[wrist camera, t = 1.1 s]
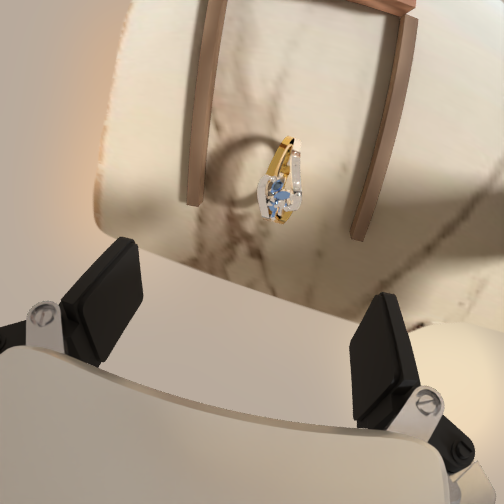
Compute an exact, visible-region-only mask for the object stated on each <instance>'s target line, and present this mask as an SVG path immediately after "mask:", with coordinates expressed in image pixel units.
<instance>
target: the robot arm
mask: <svg viewBox="0 0 504 504" xmlns="http://www.w3.org/2000/svg"><path fill="white" fill-rule="evenodd" d="M142 300H143V288H142V281H141V271H140V262H139V251H138V245H137V244H135V241H134V240H133V239H129V238H125V237H119V238H118V239H117V240H116V241H115V242H114V243H113V244H112V245H111V246H110V247H109V248H108V249H107V250H106V251H105V252H104V253H103V254H102V255H101V256H100V257H99V258H98V259H97V260H96V261H95V262H94V263H93V264H92V265H91V267H90V268H89V269H88V270H87V271H86V272H85V273H84V274H83V275H82V276H81V277H80V279H79V280H78V281H77V282H76V283H75V284H74V285H73V287H71V289H70V290H69V291H68V292H67V293H66V294H65V295H64V297H63V298H62V299H61V302H60V304H59V305H57V304H56V303H54V302H52V301H43V302H40V303H37V304H36V305H34V306H33V307H32V308H31V309H30V310H29V312H28V314H27V319H26V320H25V321H21V322H18V323H14V324H10V325H7V326H3V327H0V504H495V501H496V493H495V490H494V488H493V486H492V485H491V483H490V481H489V479H488V478H487V476H486V474H485V473H484V471H483V469H482V467H481V465H480V464H479V462H478V461H476V462H474V461H473V459H474V457H475V448H474V445H473V443H472V441H471V440H470V439H469V438H468V437H467V436H466V435H465V434H464V433H463V432H462V431H461V430H460V429H458V428H457V427H456V426H455V425H454V424H453V423H452V422H451V421H450V420H448V419H447V418H446V417H445V416H444V415H443V412H444V401H443V398H442V397H441V395H440V393H439V392H437V390H436V389H434V388H432V387H429V386H421V385H420V379H419V375H418V371H417V366H416V362H415V358H414V354H413V351H412V346H411V343H410V339H409V336H408V333H407V331H406V327H405V324H404V321H403V317H402V314H401V311H400V307H399V304H398V301H397V298H396V296H395V295H394V294H390V293H385V292H381V293H380V294H379V295H375V296H374V298H373V300H372V302H371V304H370V306H369V308H368V310H367V312H366V314H365V316H364V317H363V319H362V321H361V323H360V325H359V327H358V329H357V331H356V332H355V334H354V336H353V338H352V339H351V342H350V346H349V351H350V364H351V380H352V399H353V418H354V420H357V428H344V427H334V426H325V425H315V424H306V423H299V422H292V421H285V420H278V419H272V418H267V417H261V416H256V415H251V414H245V413H241V412H236V411H232V410H227V409H223V408H219V407H215V406H211V405H207V404H203V403H199V402H195V401H192V400H188V399H185V398H181V397H178V396H174V395H171V394H168V393H165V392H162V391H159V390H156V389H153V388H150V387H147V386H144V385H141V384H138V383H135V382H133V381H130V380H127V379H124V378H122V377H119V376H117V375H114V374H112V373H109V372H107V371H104V370H101V369H99V368H98V367H99V365H100V364H101V362H105V361H106V360H107V358H108V356H109V355H110V353H111V351H112V350H113V348H114V346H115V345H116V343H117V341H118V339H119V338H120V336H121V335H122V333H123V331H124V330H125V328H126V327H127V325H128V323H129V321H130V320H131V319H132V317H133V315H134V314H135V312H136V311H137V309H138V307H139V306H140V304H141V302H142ZM87 363H88V364H87ZM89 364H90V365H89ZM92 365H93V366H92ZM94 366H95V367H94ZM358 428H368V429H358Z"/></svg>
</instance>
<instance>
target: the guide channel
mask: <svg viewBox="0 0 504 504" xmlns="http://www.w3.org/2000/svg"><path fill="white" fill-rule="evenodd" d="M227 1H228V0H209V1H208V6H207V12H206V18H205V24H204V30H203V36H202V43H201V50H200V57H199V65H198V72H197V80H196V89H195V98H194V108H193V118H192V129H191V141H190V154H189V169H188V186H187V205H190V206H196V207H198V206H199V205H200V204H201V203H202V202H203V194H204V181H205V169H206V158H207V147H208V137H209V127H210V118H211V109H212V101H213V93H214V85H215V77H216V70H217V63H218V56H219V49H220V42H221V36H222V30H223V24H224V18H225V12H226V6H227ZM347 1H351V2H354V3H358V4H362V5H365V6H368V7H372V8H375V9H378V10H381V11H384V12H387V13H390V14H393V15H395V16H398V17H400V24H399V31H398V38H397V45H396V51H395V57H394V62H393V68H392V73H391V79H390V84H389V89H388V93H387V98H386V103H385V107H384V112H383V116H382V120H381V125H380V129H379V133H378V137H377V141H376V145H375V148H374V152H373V156H372V160H371V163H370V167H369V170H368V174H367V178H366V181H365V184H364V188H363V191H362V194H361V198H360V201H359V204H358V207H357V211H356V214H355V217H354V220H353V223H352V226H351V229H350V235H351V239H354V240H358V241H362V242H363V240H364V237H365V235H366V232H367V229H368V226H369V223H370V221H371V218H372V215H373V212H374V209H375V206H376V203H377V200H378V197H379V194H380V191H381V187H382V184H383V181H384V178H385V174H386V171H387V168H388V164H389V161H390V157H391V154H392V150H393V146H394V142H395V139H396V135H397V131H398V127H399V123H400V119H401V115H402V110H403V106H404V101H405V97H406V92H407V87H408V82H409V77H410V72H411V66H412V60H413V54H414V48H415V41H416V34H417V26H418V19H417V18H414V17H412V16H409V15H407V14H406V13H408V12H409V11H411V10H413V9H414V8H415V6H416V0H347Z"/></svg>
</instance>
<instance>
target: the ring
mask: <svg viewBox="0 0 504 504" xmlns="http://www.w3.org/2000/svg"><path fill="white" fill-rule="evenodd" d="M300 151H301V140H299V139H297V138H293V137H291V136H287V137H286V138H285V139H284V140H283V141H282V143H281V144H280V146H279V147H278V149H277V151H276V153H275V155H274V157H273V159H272V161H271V163H270V165H269V168H268V170H267V173H266V175H264V176H263V177H262V178H261V179H260V181H259V183H258V187H257V198H258V203H259V207H260V211H261V215H262V218H263V220H267V221H270V222H271V220H273V221H274V222H276V223H279V224H284V223H285V222H286V221H287V220H288V219H289V217H290V216H291V214H292V212H293V211H296V210H298V209H299V207H300V205H301V201H302V189H301V176H300ZM285 153H286V155H285ZM284 155H285V159H284V162H283V163H282V166H281V169H280V173H279V176H278V177H277V174H278V170H279V167H280V164H281V162H282V159H283V157H284ZM289 173H290V178H291V189H292V190H290V191H289V190H287V189H284V186H285V183H286V179H287V176H288V175H289ZM270 182H273V185H272V187H271V189H270V190H269V191H268V185H269V183H270ZM268 196H269V197H268ZM289 198H290V201H291V203H289Z"/></svg>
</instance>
